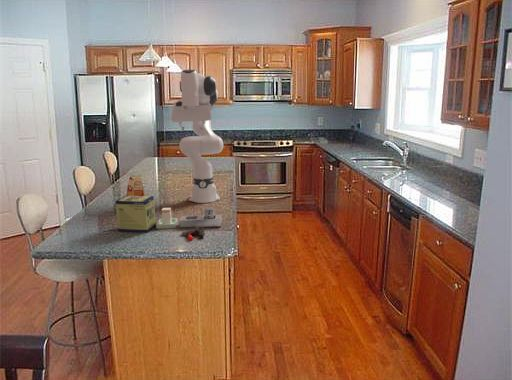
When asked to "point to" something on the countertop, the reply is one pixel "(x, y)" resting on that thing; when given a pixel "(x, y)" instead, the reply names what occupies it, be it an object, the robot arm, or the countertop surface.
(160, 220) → the tray
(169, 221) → the plug
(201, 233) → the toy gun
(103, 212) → the countertop surface
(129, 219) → the protein box
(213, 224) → the grey box with openings
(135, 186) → the milk carton
